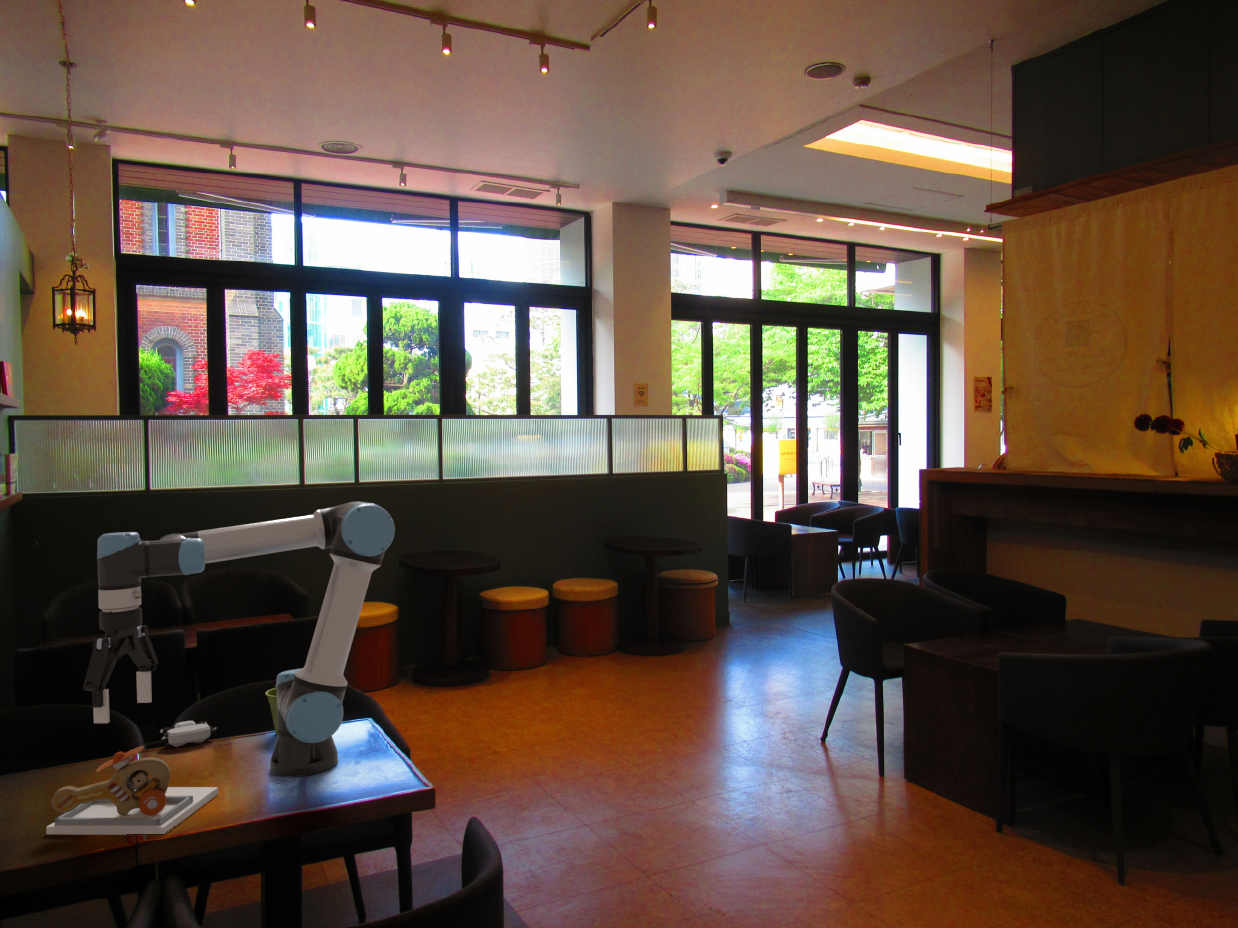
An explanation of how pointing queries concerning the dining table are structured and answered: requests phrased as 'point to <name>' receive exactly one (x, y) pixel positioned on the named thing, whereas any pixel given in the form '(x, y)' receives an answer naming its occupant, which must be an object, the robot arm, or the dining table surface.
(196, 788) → the board
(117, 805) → the toy helicopter
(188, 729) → the robot toy
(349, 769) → the dining table surface
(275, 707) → the plant pot
